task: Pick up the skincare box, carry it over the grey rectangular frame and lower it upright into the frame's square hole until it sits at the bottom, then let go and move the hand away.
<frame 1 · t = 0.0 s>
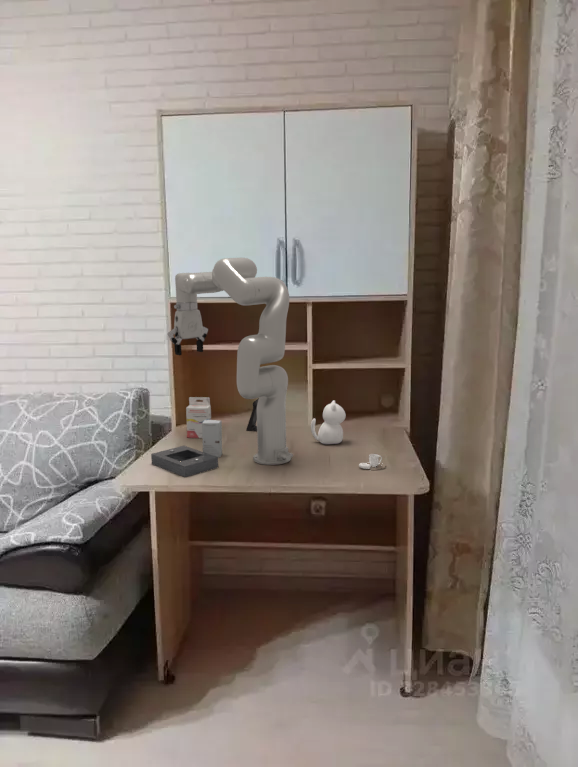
hand: (189, 353, 252), 31 cm above the table, tool pointing down, fingers open, 9 cm apart
cat figurine: (328, 443, 244), on the table
ink cartridge box: (199, 437, 255), on the table
teacup and saucer: (365, 466, 219), on the table
phone stand: (259, 429, 264), on the table
grey rectangular frame: (184, 465, 221), on the table
skincare box: (213, 456, 232), on the table
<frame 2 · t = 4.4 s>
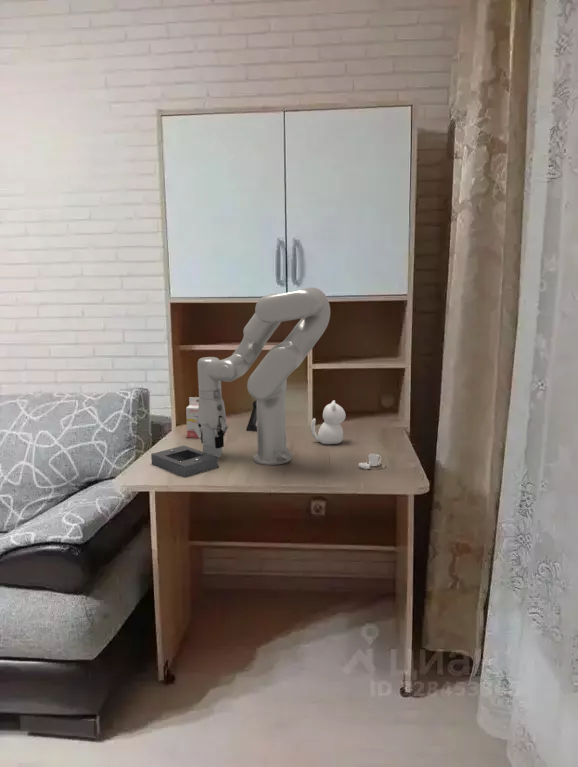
hand: (212, 444, 231), 4 cm above the table, tool pointing down, fingers closed on skincare box, 7 cm apart
skincare box: (213, 456, 232), on the table, touching gripper
everything else where it was.
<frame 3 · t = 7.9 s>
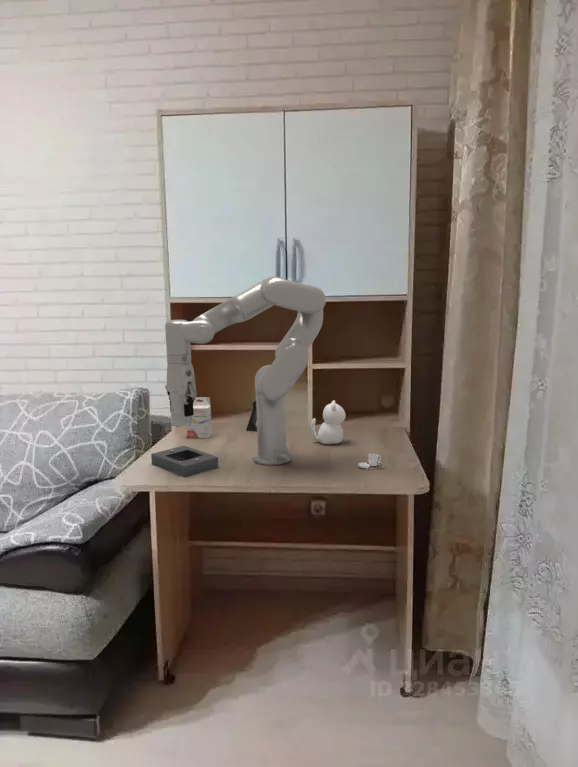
hand: (181, 413, 218), 18 cm above the table, tool pointing down, fingers closed on skincare box, 7 cm apart
skincare box: (182, 425, 219), point 14 cm above the table, touching gripper
everything else where it was.
when the fingers open (5 cm above the table, at t = 11.6 s): skincare box stays where it is, resting in grey rectangular frame.
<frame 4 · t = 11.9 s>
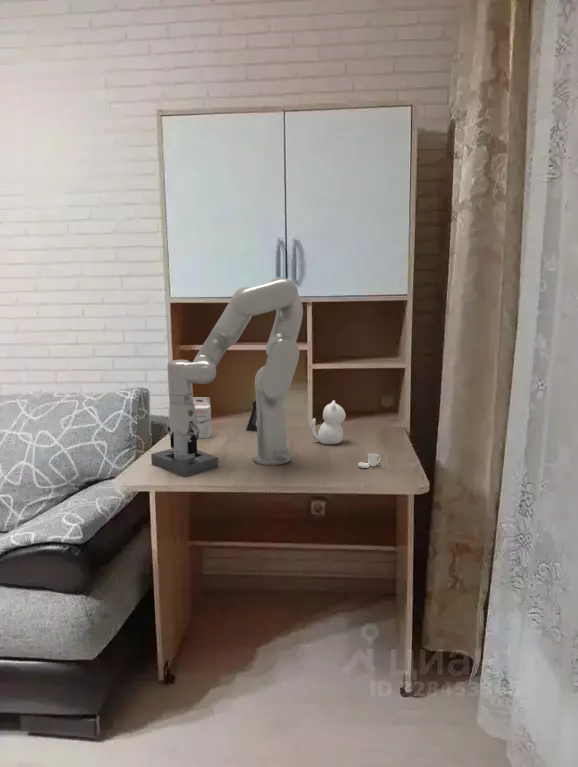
hand: (183, 450, 220), 5 cm above the table, tool pointing down, fingers open, 9 cm apart
skincare box: (185, 466, 221), resting in grey rectangular frame
everything else where it was.
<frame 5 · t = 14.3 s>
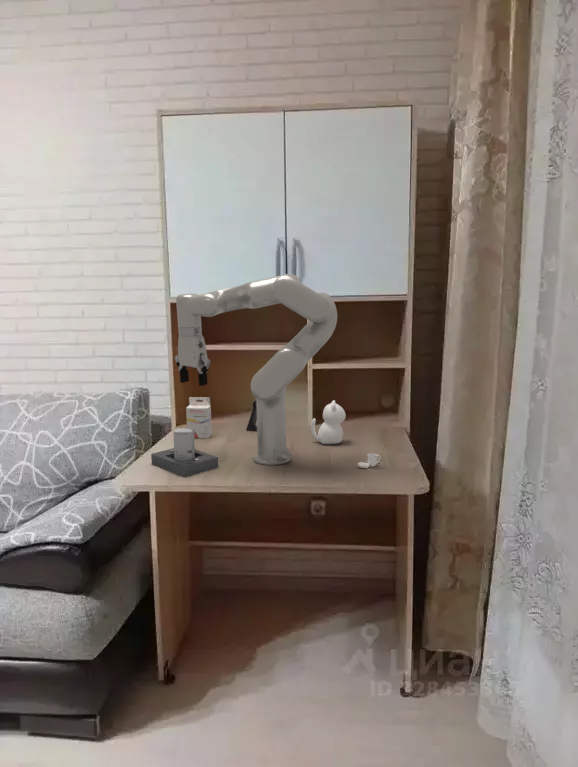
hand: (193, 383, 225), 26 cm above the table, tool pointing down, fingers open, 9 cm apart
nothing on the table moved.
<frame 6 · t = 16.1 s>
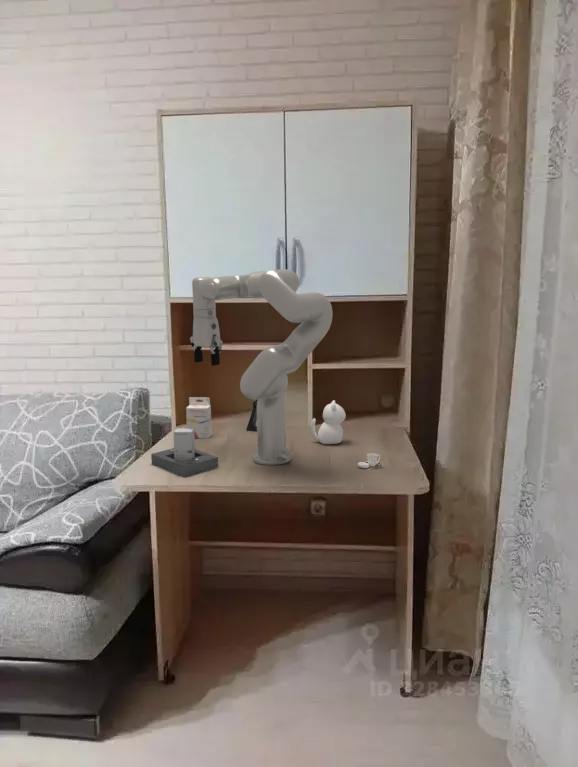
hand: (206, 363, 235), 30 cm above the table, tool pointing down, fingers open, 9 cm apart
at the end: skincare box 0.2 cm off-centre on the grey rectangular frame, point 0.0 cm above the grey rectangular frame's base; skincare box tilted 0°; the gripper is holding nothing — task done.
